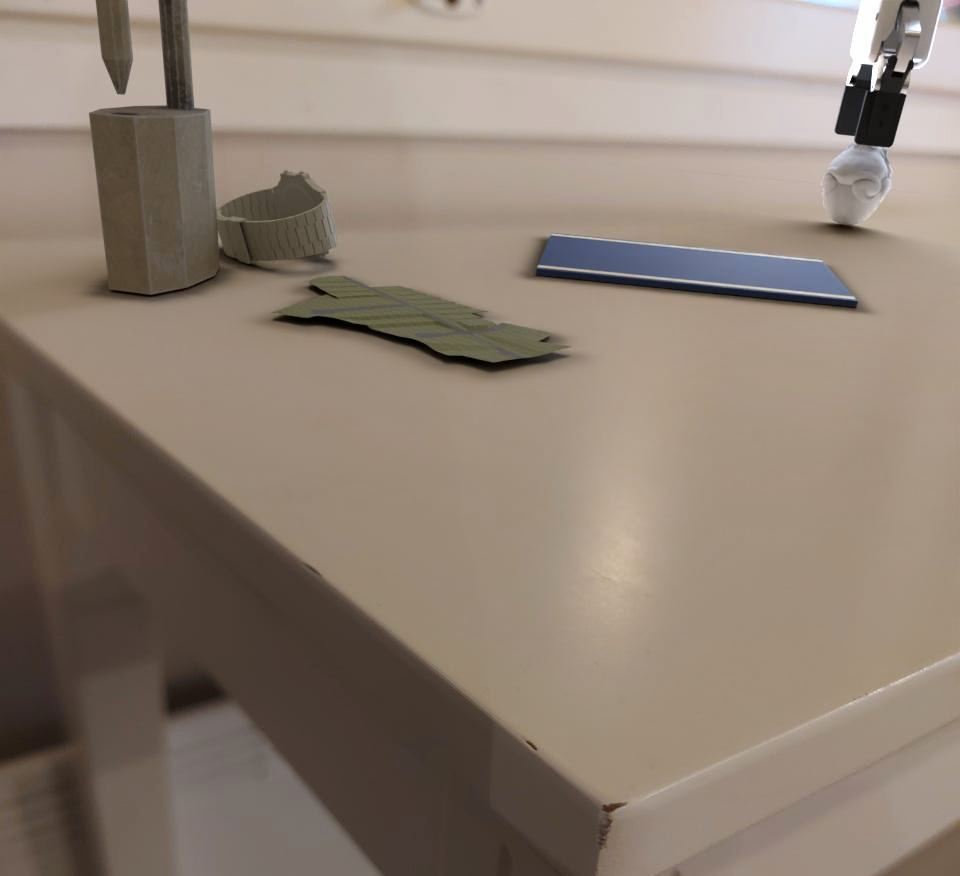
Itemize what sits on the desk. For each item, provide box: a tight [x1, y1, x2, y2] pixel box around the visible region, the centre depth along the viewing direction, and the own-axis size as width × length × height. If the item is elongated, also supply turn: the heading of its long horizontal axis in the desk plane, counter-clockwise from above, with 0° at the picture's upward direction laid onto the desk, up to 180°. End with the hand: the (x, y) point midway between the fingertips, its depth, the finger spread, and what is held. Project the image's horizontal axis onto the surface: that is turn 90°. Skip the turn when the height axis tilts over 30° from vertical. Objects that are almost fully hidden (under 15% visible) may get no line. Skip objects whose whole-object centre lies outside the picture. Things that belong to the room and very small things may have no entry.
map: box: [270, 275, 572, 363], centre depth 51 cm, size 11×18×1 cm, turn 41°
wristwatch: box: [216, 169, 340, 265], centre depth 61 cm, size 9×6×5 cm
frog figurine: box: [820, 142, 893, 226], centre depth 91 cm, size 6×7×7 cm
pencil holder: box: [88, 0, 221, 295], centre depth 52 cm, size 4×8×15 cm, turn 167°
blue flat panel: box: [535, 232, 859, 308], centre depth 69 cm, size 20×14×1 cm
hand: (861, 140), depth 90 cm, fingers open, 9 cm apart
